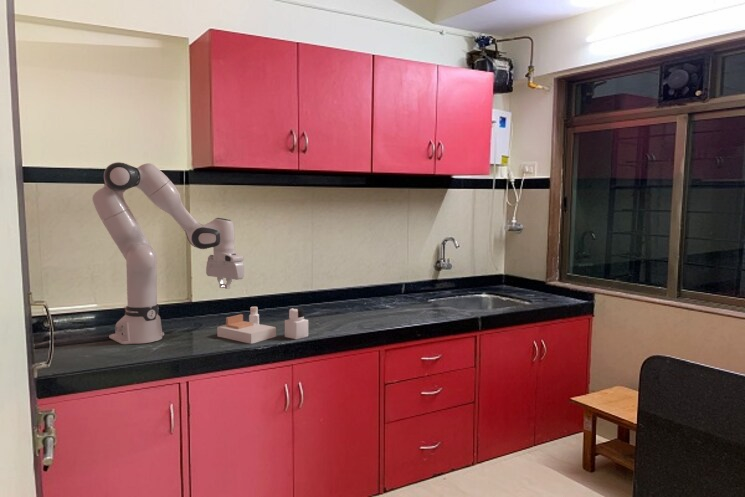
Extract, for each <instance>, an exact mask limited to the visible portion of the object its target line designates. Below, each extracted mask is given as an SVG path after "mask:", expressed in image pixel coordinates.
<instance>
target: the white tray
mask: <svg viewBox="0 0 745 497" xmlns="http://www.w3.org/2000/svg"><path fill="white" fill-rule="evenodd" d="M245 322H247V321H245ZM216 331H217V332H216V333H217V337H218V338H223V339H227V340H231V341H237V342H241V343H246V344H256V343H259V342H263V341H265V340H268V339H273V338H276V337H277V327H275V326H272V325H267V324H260V323H259V324H256V323H254V325H251V326H247V327H243V328H240V329H238V328H233V327H228V326H226V324H224V325H220V326H217V328H216Z"/></svg>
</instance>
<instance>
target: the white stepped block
mask: <svg viewBox="0 0 745 497" xmlns="http://www.w3.org/2000/svg"><path fill="white" fill-rule="evenodd" d="M288 312H289V313H288V314H289V316H288V319H285V320H284V338H288V339H293V340H299V339H303V338H308V337H309V319H305V310H304V309H303V308H301V307H292V308H290V309H289V310H288Z"/></svg>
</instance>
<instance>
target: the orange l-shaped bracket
mask: <svg viewBox="0 0 745 497" xmlns="http://www.w3.org/2000/svg"><path fill="white" fill-rule="evenodd" d="M225 325H226V326H228V327H233V328H238V329H240V328H243V327H247V326H251V325H254V323H251V322H249V321H246V322H245V321H244V314H241V313H240V314H236V315H232V316H227V317H225Z"/></svg>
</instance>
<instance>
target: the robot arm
mask: <svg viewBox="0 0 745 497" xmlns="http://www.w3.org/2000/svg"><path fill="white" fill-rule="evenodd" d="M103 180H104V183H103V184H104V185H103V186H102V187H100V188H99V189H97V191H95V192H94V193H93V195H92V198H91V199H92V202H93V206H94V208H95V210H96V213H97V215H98V216H99V218H100V220H101V222H102V224H103V226H104V227H105V228H106V230H107V232H108V234H109V236H110V237H111V239H112V240H113V241H114V243H115V244H116V246H117V249H118V250H119V252H120V253H121V254H122V256H123V258H124V259H125V260H126V262H125V263H126V295H127V296H126V298H127V303H126V304H127V305H126V306H125V307H124V309H123V310H125V312H124V315H123V316H122V317H121V318H120V319H119V320H118V321H117V322H116V323H115V327H114V329H115V330H114V331H115V333H112V334H109V336H108V337H109V339H111V340H113V341H115V342H117V343H118V344H120V345H131V344H133V345H134V344H139V345H140V344H147V343H153V342H157V341H160V340H162V339H163V337H164V336H165V332H164V331H163V329H162V320H161V316H160V315H159V309H160V308H159V304H158V292H157V289H158V288H157V283H158V282H157V281H158V279H157V277H158V270H157V268H158V267H157V264H158V260H157V259H158V258H157V254H156V252H155V251H154V249H153V247H152V245H151V244H150V242H149V240H148V238H147V237H146V235H145V234H144V232H143V229H142V228H141V226H140V225H139V222H138V221H137V219H136V217H135V215H134V214H133V212H132V211H131V209H130V207H129V206H128V204H127V202H126V200H125V198H124V193H125V192H126V191H127V190H130V189H131V188H137V189H139V190H140V191H141V192H142V193H144V195H145V196H146V197H147V198H148V199H149V200H150V201H151V202H152V204H154V205H155V206H156V207H158V208H159V209H160V210H162V211H164V212H165V213H167V214H169V216H170V217H172V218H173V219H174V220H175V221H176V223H177V224H178V225H179V226H180V227H181V228H182V230H183V231H184V232H185V235H186V238H187V241H188V243H189V244H190V245H191V246H192V247H194V248H196V249H199V250H208V249H211V248H213V254H210V255H209V256H208V257H207V261H206V267H205V273H206V274H205V275H206V276H207V277H213V278H216V279H217V282H218V284H219V288H220V289H227V290H229V289H231V284H232V282H233V280H239V281H240V280H242V279H244V277H245V265H244V262H243V261H244V259H245V258H244V256H243V255H242V254H240V253H238V252H237V251H236V247H235V236H236V234H235V225H234V222H233V221H232V220H231V219H229V218H228V219H227V218H223V217H215V218H214V219H213V220H211V221H209V222H207V223H206V224H201V223H200V222H198V221H197V220H196V219H195V218H194V216H192V215H191V214H190V212H189V211H188V210H187V208H185V206H184V204H183V202H182V198H181V194H180V191H179V190H178V189H177V187H176V185H175V184H174V183H173V182H172V180H170V178H169V177H168V176H167V175H166V174H165V173H164V172H162V171H161V170H160V169H159V168H158V167H157V166H156V165H155V164H153V163H144V164H141V165H139V166H138V167H135V166H132V165H131V164H130V165H129V164H128V163H125V162H113V163H111V164H109V165H108V166H107V167H106V168H105V169H104V172H103ZM224 279H225V281H226V282H225V283H224Z"/></svg>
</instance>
